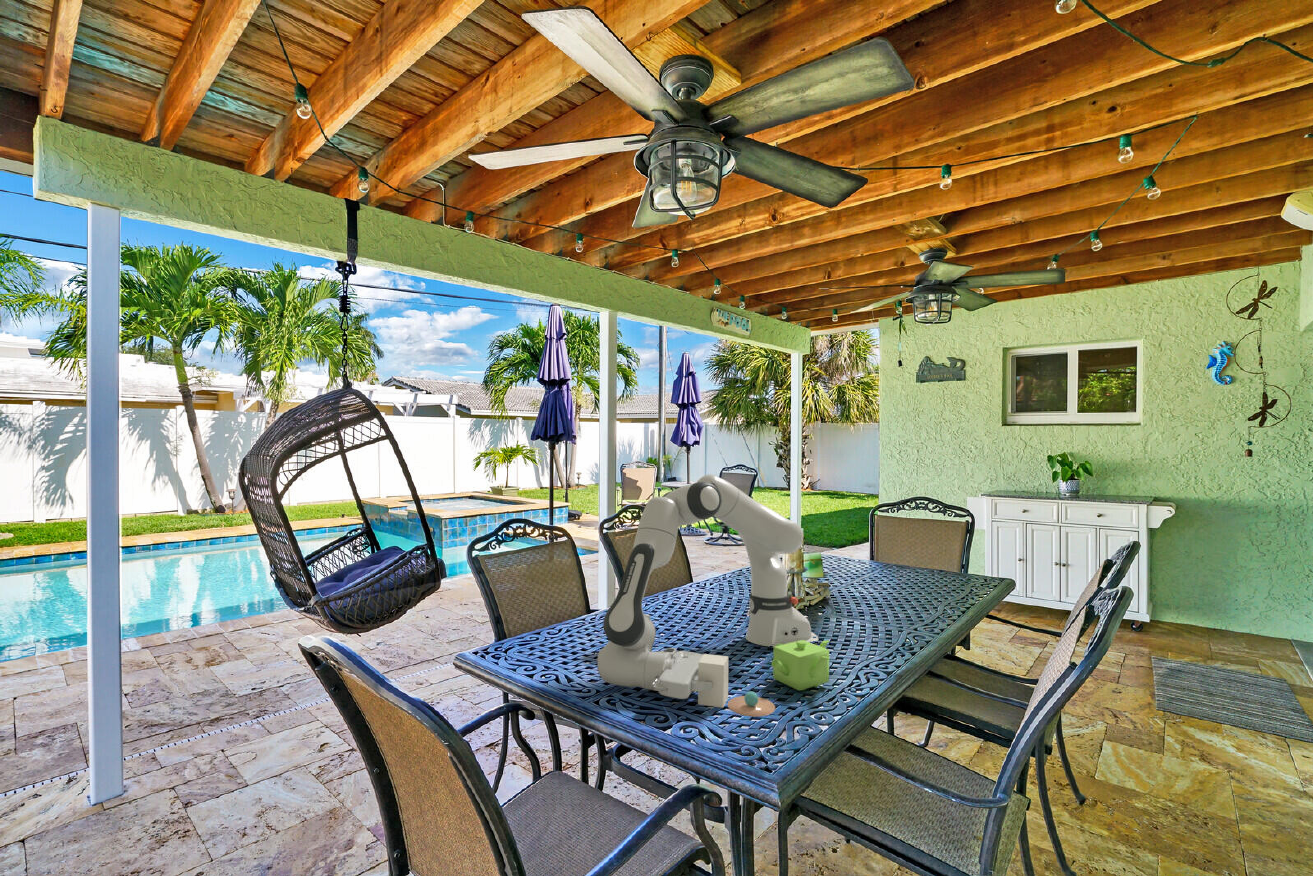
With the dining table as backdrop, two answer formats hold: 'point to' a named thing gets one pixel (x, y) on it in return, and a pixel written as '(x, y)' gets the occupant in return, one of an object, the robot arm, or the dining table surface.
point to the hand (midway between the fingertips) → (716, 678)
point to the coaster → (751, 707)
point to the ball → (751, 698)
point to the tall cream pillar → (713, 680)
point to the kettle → (801, 664)
